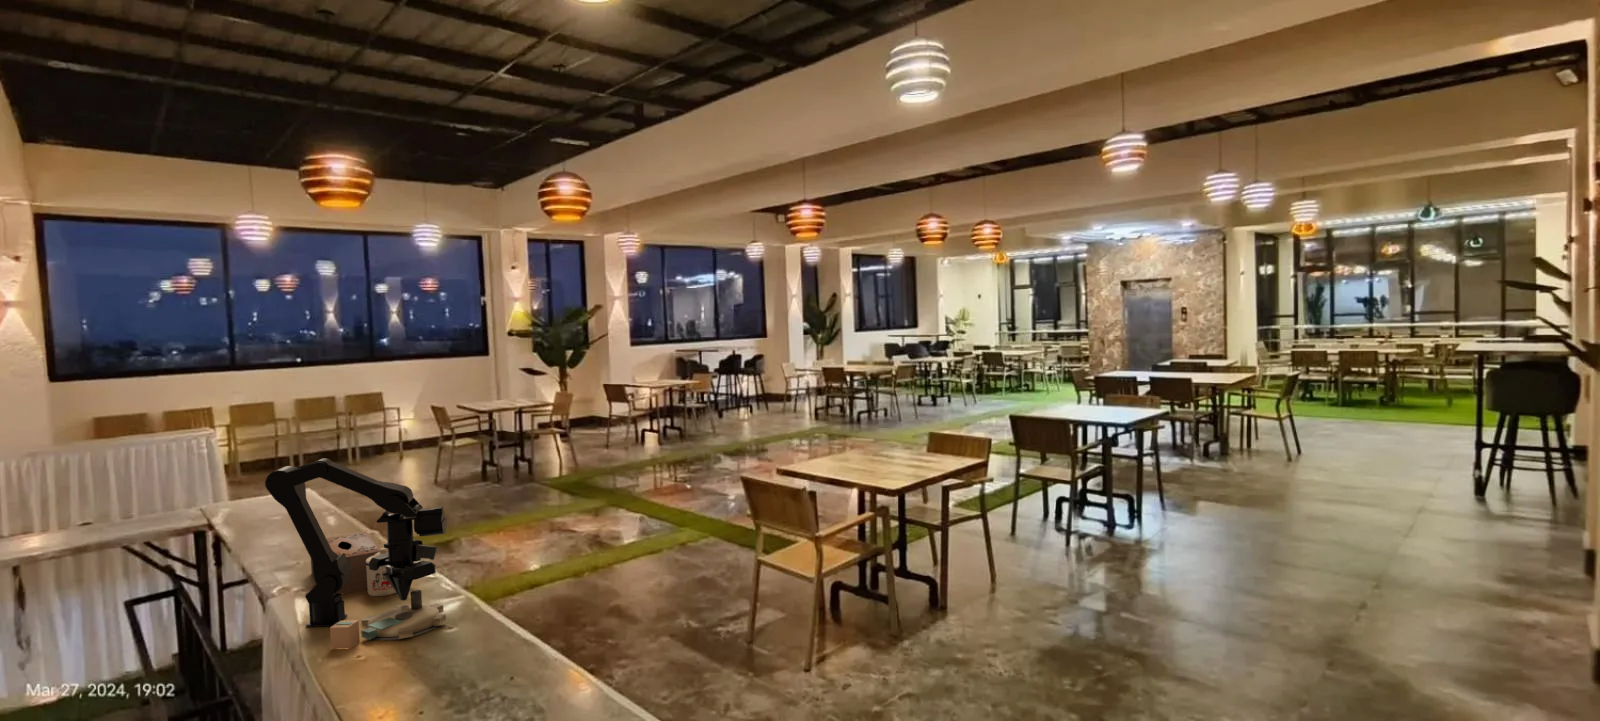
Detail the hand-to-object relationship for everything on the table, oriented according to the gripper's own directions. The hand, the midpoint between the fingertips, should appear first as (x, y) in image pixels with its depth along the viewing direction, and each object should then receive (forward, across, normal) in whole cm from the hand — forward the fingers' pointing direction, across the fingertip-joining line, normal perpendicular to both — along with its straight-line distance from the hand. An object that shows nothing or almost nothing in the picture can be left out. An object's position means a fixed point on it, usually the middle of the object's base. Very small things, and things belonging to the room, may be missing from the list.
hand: (403, 600), depth 192 cm
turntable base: (+3, -8, +5) cm, 10 cm away
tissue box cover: (+4, +40, -8) cm, 41 cm away
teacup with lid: (+4, +20, -9) cm, 22 cm away
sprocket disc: (+3, -8, +5) cm, 10 cm away
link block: (+3, -6, +18) cm, 19 cm away
